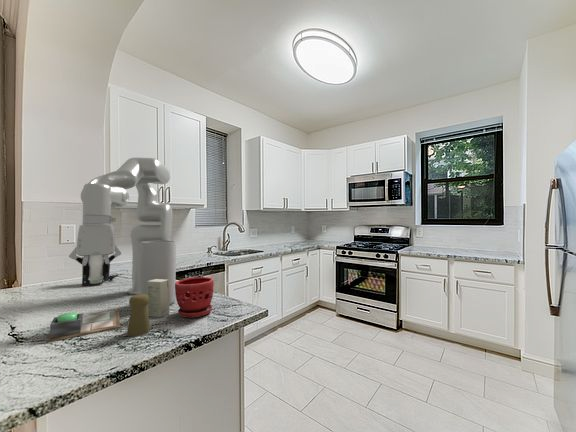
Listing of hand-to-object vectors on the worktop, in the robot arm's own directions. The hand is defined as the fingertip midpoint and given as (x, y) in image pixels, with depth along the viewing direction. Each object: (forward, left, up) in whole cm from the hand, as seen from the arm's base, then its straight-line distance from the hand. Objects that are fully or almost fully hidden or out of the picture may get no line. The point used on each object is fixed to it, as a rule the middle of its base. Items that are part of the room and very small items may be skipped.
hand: (95, 275), depth 85 cm
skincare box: (-18, +4, -15) cm, 24 cm away
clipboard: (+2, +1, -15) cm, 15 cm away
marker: (0, 0, -2) cm, 2 cm away
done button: (+6, +6, -12) cm, 15 cm away
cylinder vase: (-20, -10, -15) cm, 27 cm away
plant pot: (-29, +10, -15) cm, 34 cm away
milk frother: (0, -69, -15) cm, 71 cm away
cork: (-11, +17, -15) cm, 25 cm away
